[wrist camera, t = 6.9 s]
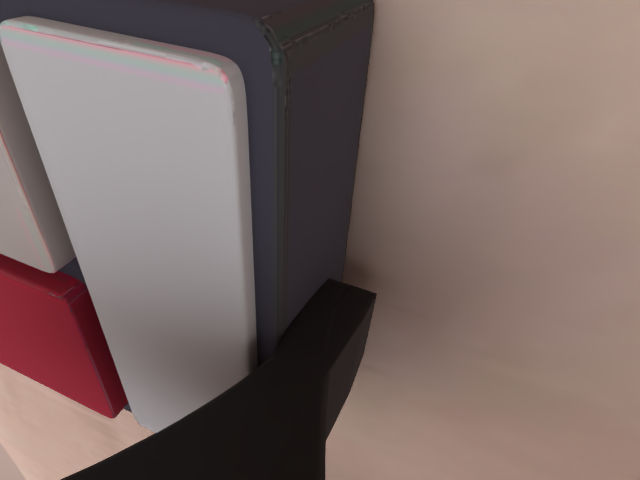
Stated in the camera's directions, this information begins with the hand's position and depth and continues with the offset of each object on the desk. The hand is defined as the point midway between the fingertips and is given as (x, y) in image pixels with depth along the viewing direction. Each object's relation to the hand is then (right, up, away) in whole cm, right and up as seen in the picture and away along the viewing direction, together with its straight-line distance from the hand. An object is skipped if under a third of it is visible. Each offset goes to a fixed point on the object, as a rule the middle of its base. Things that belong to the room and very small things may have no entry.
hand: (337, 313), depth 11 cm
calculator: (-7, +4, +2) cm, 8 cm away
